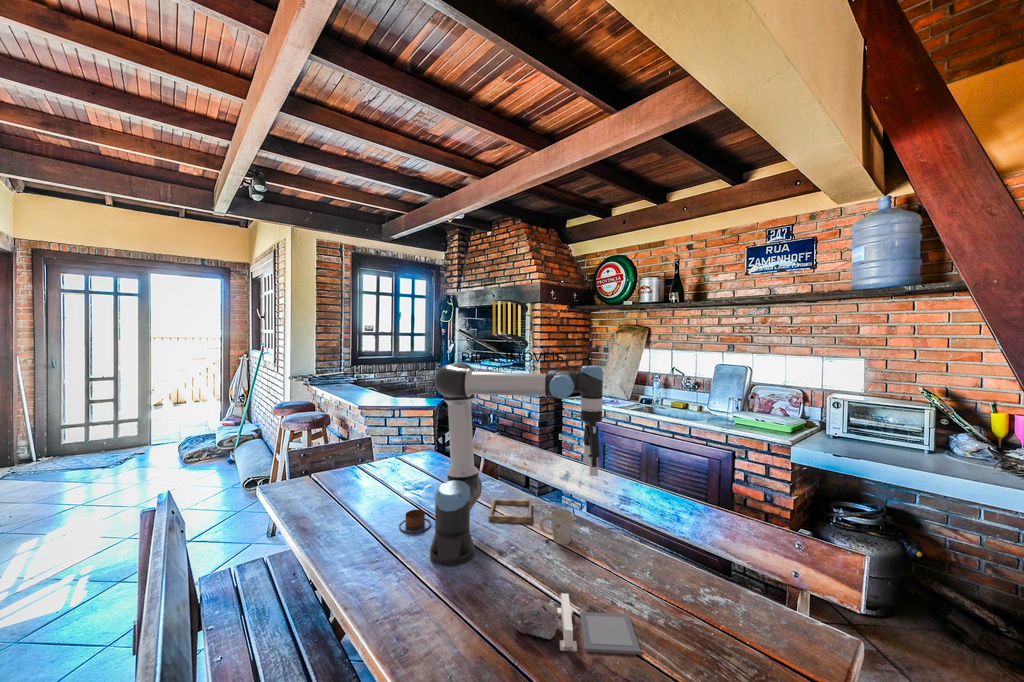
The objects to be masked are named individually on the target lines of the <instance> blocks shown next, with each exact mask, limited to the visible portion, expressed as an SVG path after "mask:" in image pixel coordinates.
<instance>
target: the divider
mask: <svg viewBox="0 0 1024 682" xmlns="http://www.w3.org/2000/svg"><path fill="white" fill-rule="evenodd" d="M570 603H571V602H570V596H569V593H564V592H562V593H560V607H557V608H556V609H557V610H556V611H557V612H556V613H557V614H559V617H561V628H562V638H563V640H562V639H561V640H559V650H560V651H561V652H562V651H567V652H578V645H577V640H574V638H573V637H574V626H573V621H572V620H573V619H572V618H573V615H574V612H573V608H571V604H570Z"/></svg>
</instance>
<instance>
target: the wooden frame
mask: <svg viewBox="0 0 1024 682" xmlns="http://www.w3.org/2000/svg"><path fill="white" fill-rule="evenodd" d="M491 502H492V503H491V507H490V508H489V509H490V510H489V513H488V522H498V523H513V524H515V523H519V524H532V506H533V505H532V503H533V501H532V499H531V500H527V499H526V500H525V499H499V498H498V499H496V498H495V499H492V501H491ZM496 505H507V506H508V505H509V506H527V507H528V515H503V514H501V515H500V514H497V515H496V514H494V511H495V508H496V507H495V506H496Z"/></svg>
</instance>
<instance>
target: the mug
mask: <svg viewBox="0 0 1024 682" xmlns="http://www.w3.org/2000/svg"><path fill="white" fill-rule="evenodd" d="M574 516H575V514H574V512H573V511H571V510H569V509H566V508H565V509H562V508H558V509H554V510H552V511H550V516H548V515H547V516H543V517H542V518H541V519H540V520H539V528H540V530H541V531H542V532H543V533H544V534H545V535H551V536H553V541H554V542H555V543H556V544H558V545H568V544H570V542H571V541H572V540H571V539H572V532H573V525H574ZM545 521H551V527H552V531H547V530H546V529H545V527H544V523H545Z"/></svg>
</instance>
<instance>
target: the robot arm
mask: <svg viewBox="0 0 1024 682" xmlns="http://www.w3.org/2000/svg"><path fill="white" fill-rule="evenodd" d="M603 376H604V373H603V368H602V367H601V366H599V365H583V366H581V369H580V370H578V371H577V370H575V371H574V370H572V371H571V370H557V369H556V370H549V371H548V372H547V373H532V372H531V373H527V372H525V373H524V372H495V371H493V372H491V371H489V372H488V371H475V368H473V366H471V365H470V364H468V363H466V362H459V361H458V362H454V363H451V364H446V365H443V366H441V367H440V368H439V369H438V370H437V372H436V373H435V376H434V387H435V389H436V390H437V392H438V393H439V394H440V395H441V396H443V401H444V402H445V403H446V405H447V412H448V414H447V415H448V430H449V431H448V433H449V434H448V435H449V450H450V451H449V454H450V455H449V456H450V469H448V470H447V473H446V474H447V481H446V482H443V483H441V484H439V485H438V487H437V488H436V490H435V496H434V503H435V504H434V510H435V511H434V512H435V514H434V515H435V516H434V517H435V518H434V519H435V520H434V522H435V526H434V527H435V529H434V531H435V533H434V536H433V539H432V541H431V546H430V548H429V559H430V560H431V561H432V562H433V563H434V564H436V565H440V566H444V567H456V566H460V565H464V564H466V563H469V561H471V560H473V558H474V556H475V555H476V554H475V551H476V550H475V549H476V547H475V544H474V539H473V537H472V534H471V533H472V532H471V531H470V529H471V527H470V526H471V524H470V523H471V521H470V517H471V510H472V508H473V507H474V506H475V505H476V503H477V501H478V500H480V499H479V498H480V496H481V495H482V490H483V482H482V479H481V478H480V477H481V476H479V469H478V468H477V467H476V466H475V460H474V457H475V456H474V440H473V439H474V438H473V417H472V402H473V401H474V399H475V398H476V397H475V396H476V395H484V396H485V395H491V396H493V395H494V396H519V397H520V396H524V397H526V396H527V397H550V398H551V397H553V398H556V399H561V400H562V399H566V398H569V396H571V395H572V393H580V408H581V409H580V421H582V422H584V431H583V440H582V442H583V445H584V446H583V464H588V465H589V471H588V472H589V475H588V476H590V477H599V458H600V455H601V454H600V446H599V445H600V444H599V441H600V440H599V426H597V423H600V422H602V421H603V411H602V410H603V404H605V401H604V400H603V393H604V391H603V388H604V387H603V385H604V383H603V382H604V377H603Z"/></svg>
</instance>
